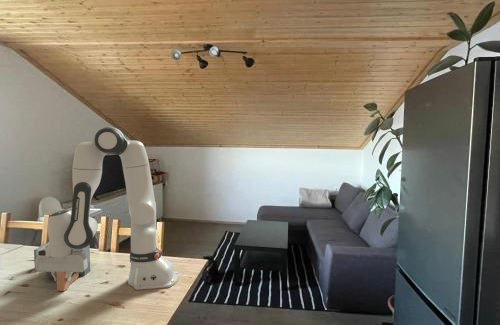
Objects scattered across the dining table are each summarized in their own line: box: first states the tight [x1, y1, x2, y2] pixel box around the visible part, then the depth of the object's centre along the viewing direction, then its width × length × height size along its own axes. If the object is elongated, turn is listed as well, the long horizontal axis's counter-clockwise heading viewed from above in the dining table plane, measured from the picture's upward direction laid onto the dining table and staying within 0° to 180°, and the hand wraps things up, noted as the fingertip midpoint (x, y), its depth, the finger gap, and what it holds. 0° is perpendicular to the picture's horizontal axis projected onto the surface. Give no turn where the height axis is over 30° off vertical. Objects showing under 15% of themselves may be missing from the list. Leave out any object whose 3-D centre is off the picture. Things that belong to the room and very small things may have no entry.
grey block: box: [33, 241, 91, 277], centre depth 137 cm, size 18×12×15 cm, turn 90°
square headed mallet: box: [56, 272, 80, 292], centre depth 130 cm, size 3×12×9 cm, turn 1°
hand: (62, 280), depth 126 cm, fingers closed on square headed mallet, 3 cm apart
